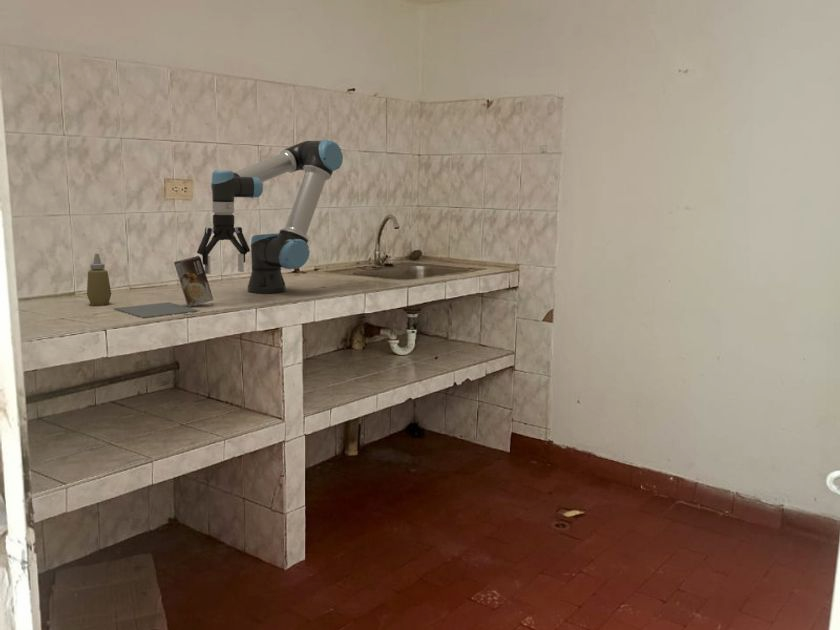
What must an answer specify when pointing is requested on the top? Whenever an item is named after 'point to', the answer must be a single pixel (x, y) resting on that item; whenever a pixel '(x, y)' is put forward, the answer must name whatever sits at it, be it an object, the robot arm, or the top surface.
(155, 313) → the mat
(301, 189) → the robot arm
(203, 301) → the coffee box
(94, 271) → the squeeze bottle
